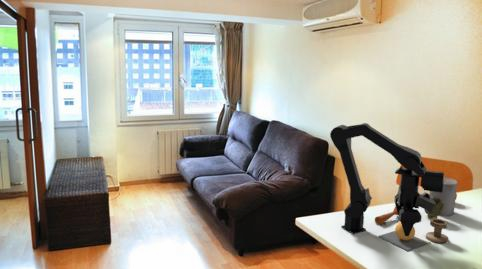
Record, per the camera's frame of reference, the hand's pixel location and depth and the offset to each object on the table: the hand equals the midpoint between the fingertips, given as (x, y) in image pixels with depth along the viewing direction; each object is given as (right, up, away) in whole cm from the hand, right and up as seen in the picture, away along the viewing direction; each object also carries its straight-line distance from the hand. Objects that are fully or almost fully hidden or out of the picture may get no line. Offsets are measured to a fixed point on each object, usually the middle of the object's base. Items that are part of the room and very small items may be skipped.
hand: (404, 230), depth 133 cm
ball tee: (+12, -3, +2) cm, 13 cm away
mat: (0, -4, +1) cm, 4 cm away
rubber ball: (0, 0, 0) cm, 0 cm away
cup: (+19, 0, +19) cm, 27 cm away
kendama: (+4, -1, +19) cm, 20 cm away
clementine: (+35, +3, +37) cm, 51 cm away
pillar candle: (+26, +1, +27) cm, 38 cm away
